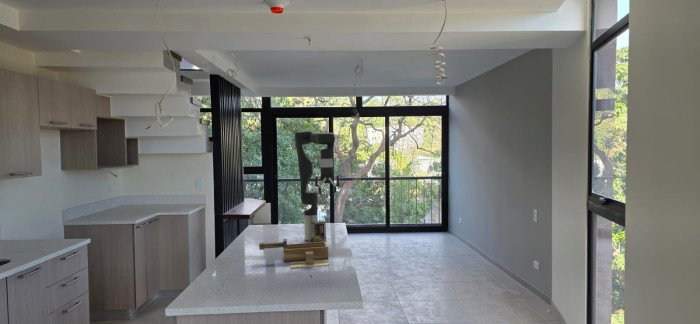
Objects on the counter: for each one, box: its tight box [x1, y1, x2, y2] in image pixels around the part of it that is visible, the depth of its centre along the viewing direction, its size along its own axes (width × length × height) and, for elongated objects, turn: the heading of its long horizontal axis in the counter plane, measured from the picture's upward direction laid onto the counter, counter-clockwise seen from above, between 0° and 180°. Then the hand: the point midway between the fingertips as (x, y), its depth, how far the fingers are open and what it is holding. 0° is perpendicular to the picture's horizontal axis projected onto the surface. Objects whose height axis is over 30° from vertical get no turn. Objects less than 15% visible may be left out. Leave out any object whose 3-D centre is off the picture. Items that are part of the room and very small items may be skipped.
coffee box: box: [310, 221, 327, 243], centre depth 245 cm, size 9×6×16 cm
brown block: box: [258, 241, 283, 251], centre depth 221 cm, size 3×14×3 cm, turn 100°
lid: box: [289, 251, 331, 270], centre depth 213 cm, size 9×21×7 cm, turn 102°
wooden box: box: [282, 238, 329, 263], centre depth 225 cm, size 12×25×11 cm, turn 100°
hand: (327, 193), depth 232 cm, fingers open, 8 cm apart
